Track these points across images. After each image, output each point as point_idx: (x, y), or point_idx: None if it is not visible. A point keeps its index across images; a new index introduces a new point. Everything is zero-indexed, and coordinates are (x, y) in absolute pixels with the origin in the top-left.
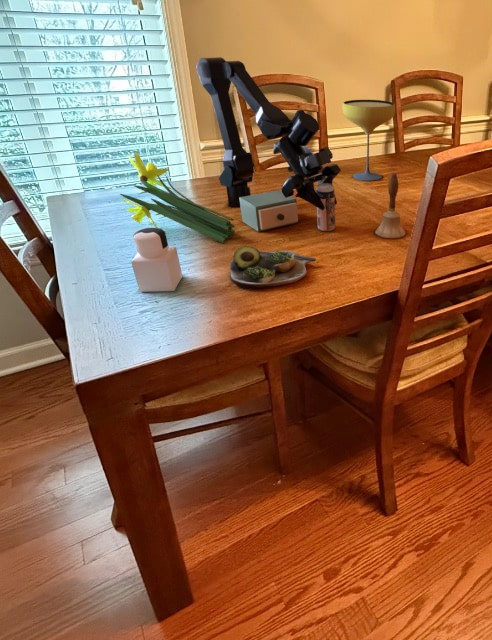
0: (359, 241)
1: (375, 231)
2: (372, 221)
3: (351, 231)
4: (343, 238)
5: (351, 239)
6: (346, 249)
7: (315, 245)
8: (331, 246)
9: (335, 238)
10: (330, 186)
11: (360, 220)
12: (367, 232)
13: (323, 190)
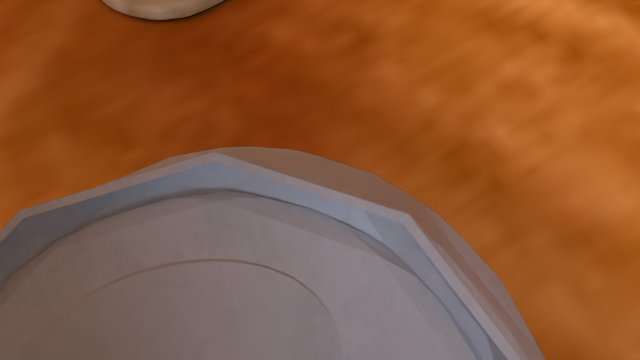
0: (388, 21)
1: (208, 3)
2: (18, 119)
3: (262, 144)
4: (405, 125)
5: (389, 74)
6: (544, 22)
7: (636, 221)
8: (571, 119)
9: (438, 170)
10: (176, 230)
11: (27, 200)
12: (226, 51)
13: (532, 347)
